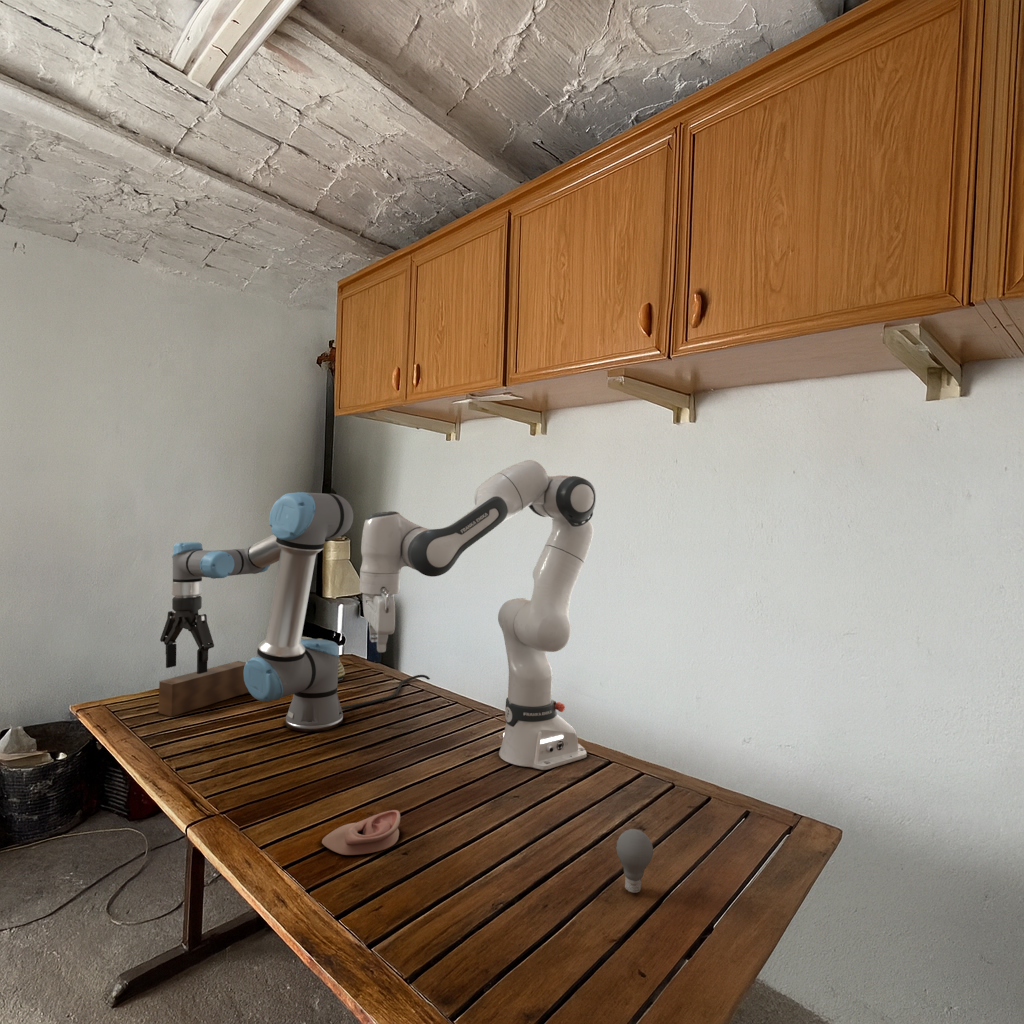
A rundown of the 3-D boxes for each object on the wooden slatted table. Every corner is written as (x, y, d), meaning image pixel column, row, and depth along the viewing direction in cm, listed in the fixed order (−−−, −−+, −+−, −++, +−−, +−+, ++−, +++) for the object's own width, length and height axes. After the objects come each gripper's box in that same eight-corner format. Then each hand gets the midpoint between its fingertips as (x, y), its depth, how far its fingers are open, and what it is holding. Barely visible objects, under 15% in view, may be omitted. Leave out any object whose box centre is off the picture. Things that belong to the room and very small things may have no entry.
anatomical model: (313, 828, 113) (343, 799, 125) (313, 850, 113) (342, 819, 125) (383, 839, 111) (407, 808, 122) (382, 862, 111) (406, 829, 122)
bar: (171, 716, 176) (172, 684, 176) (158, 713, 179) (159, 681, 178) (249, 691, 201) (250, 663, 200) (237, 689, 203) (238, 660, 203)
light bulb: (610, 879, 108) (613, 822, 108) (644, 879, 109) (647, 822, 109) (619, 902, 102) (622, 840, 102) (655, 901, 103) (658, 840, 103)
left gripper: (228, 597, 180) (227, 672, 180) (171, 591, 191) (170, 661, 191) (204, 600, 173) (203, 678, 173) (147, 594, 184) (146, 667, 184)
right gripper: (403, 591, 132) (400, 657, 132) (386, 578, 151) (383, 636, 151) (373, 591, 130) (370, 658, 130) (359, 578, 149) (356, 637, 149)
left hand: (186, 669), depth 182 cm, fingers open, 13 cm apart
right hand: (377, 646), depth 141 cm, fingers open, 8 cm apart
